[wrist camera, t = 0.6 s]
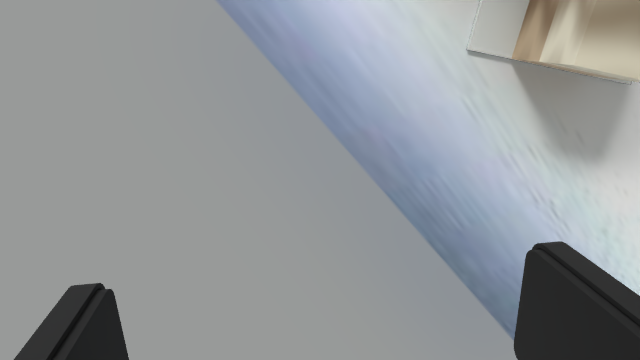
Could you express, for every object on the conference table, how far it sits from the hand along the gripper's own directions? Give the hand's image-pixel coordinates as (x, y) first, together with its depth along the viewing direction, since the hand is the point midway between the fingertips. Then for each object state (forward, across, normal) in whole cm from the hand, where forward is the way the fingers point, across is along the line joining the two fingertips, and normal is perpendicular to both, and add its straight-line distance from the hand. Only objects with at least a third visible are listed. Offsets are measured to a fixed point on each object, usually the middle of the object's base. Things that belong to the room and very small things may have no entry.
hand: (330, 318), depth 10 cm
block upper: (+24, -24, -6) cm, 35 cm away
